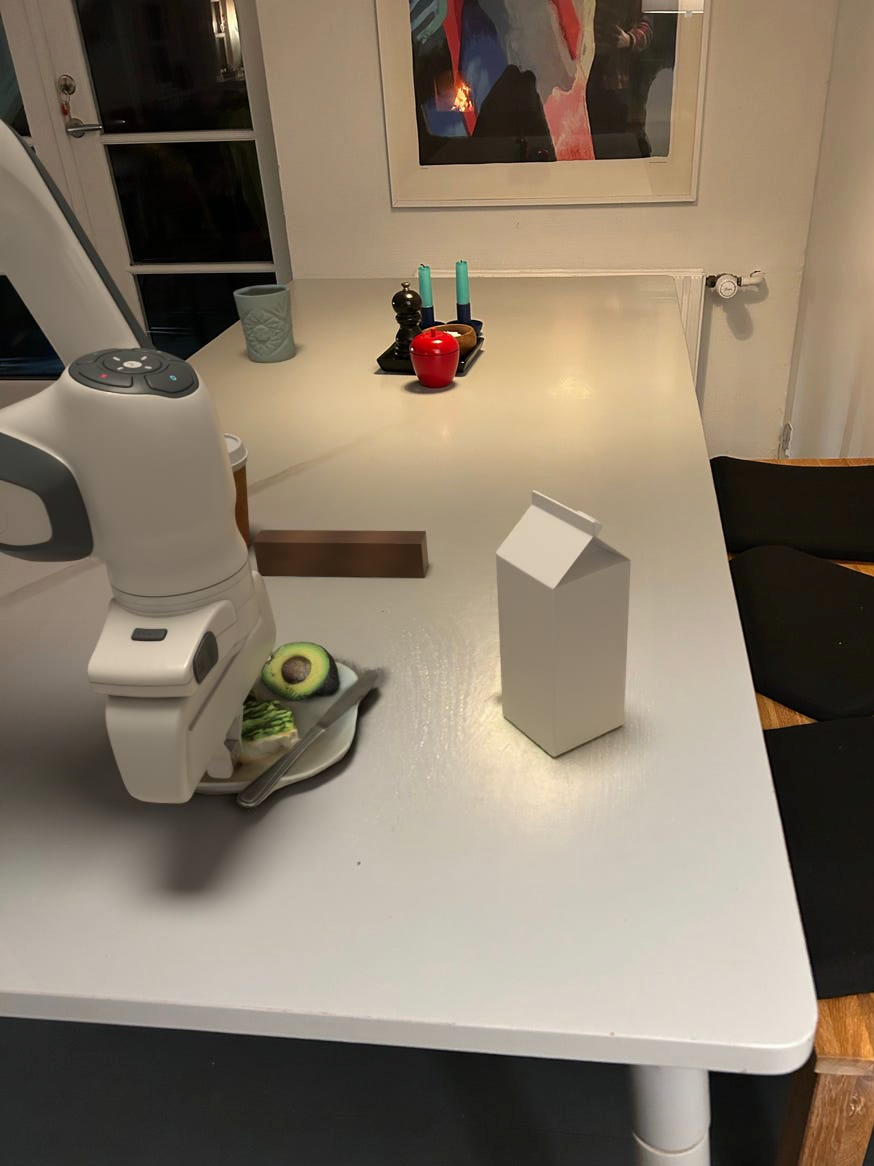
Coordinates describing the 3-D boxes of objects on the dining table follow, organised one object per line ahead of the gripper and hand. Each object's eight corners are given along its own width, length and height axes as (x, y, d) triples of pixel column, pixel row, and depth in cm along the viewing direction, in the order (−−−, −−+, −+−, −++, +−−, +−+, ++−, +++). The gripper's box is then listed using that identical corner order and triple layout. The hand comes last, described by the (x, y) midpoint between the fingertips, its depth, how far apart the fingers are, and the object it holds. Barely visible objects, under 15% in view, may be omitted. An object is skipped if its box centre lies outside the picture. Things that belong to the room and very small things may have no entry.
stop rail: (258, 575, 101) (252, 541, 99) (267, 562, 104) (261, 529, 102) (424, 577, 99) (421, 543, 97) (428, 564, 102) (425, 530, 100)
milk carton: (554, 759, 73) (552, 536, 63) (501, 715, 78) (492, 502, 68) (624, 726, 76) (634, 508, 66) (569, 686, 81) (570, 478, 71)
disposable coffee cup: (193, 530, 112) (171, 432, 106) (272, 528, 112) (255, 430, 105) (168, 567, 104) (142, 464, 98) (253, 565, 104) (233, 461, 97)
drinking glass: (262, 367, 171) (251, 298, 165) (234, 357, 178) (222, 291, 171) (309, 355, 177) (300, 287, 171) (280, 346, 183) (270, 281, 177)
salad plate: (362, 820, 68) (355, 770, 66) (116, 828, 68) (100, 779, 66) (384, 670, 85) (379, 626, 82) (186, 678, 85) (175, 634, 82)
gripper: (200, 534, 72) (233, 684, 79) (71, 688, 55) (128, 862, 62) (280, 535, 71) (306, 686, 78) (175, 691, 54) (221, 867, 61)
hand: (227, 765), depth 70 cm, fingers closed
